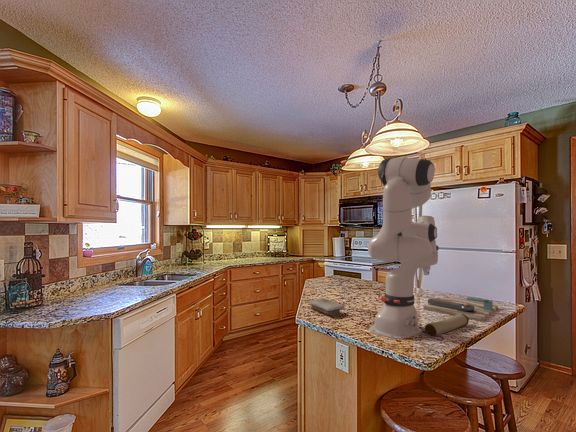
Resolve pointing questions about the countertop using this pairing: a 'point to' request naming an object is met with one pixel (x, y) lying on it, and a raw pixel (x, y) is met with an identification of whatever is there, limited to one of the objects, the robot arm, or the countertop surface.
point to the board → (477, 314)
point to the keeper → (486, 302)
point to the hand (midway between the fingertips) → (426, 274)
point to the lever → (452, 305)
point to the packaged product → (326, 306)
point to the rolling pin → (446, 325)
